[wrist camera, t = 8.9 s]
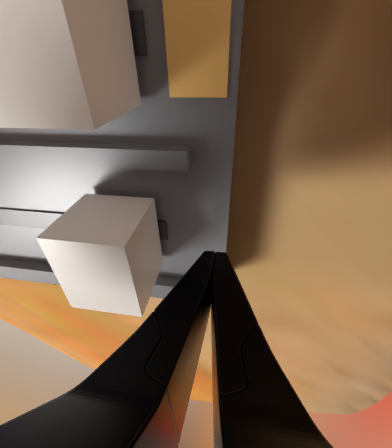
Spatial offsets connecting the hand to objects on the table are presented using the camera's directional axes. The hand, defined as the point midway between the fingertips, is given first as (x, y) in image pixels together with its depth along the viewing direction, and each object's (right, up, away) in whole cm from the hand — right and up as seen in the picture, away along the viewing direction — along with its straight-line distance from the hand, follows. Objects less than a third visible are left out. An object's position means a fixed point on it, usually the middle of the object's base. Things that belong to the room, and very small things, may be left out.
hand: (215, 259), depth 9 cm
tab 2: (-4, +1, +2) cm, 4 cm away
